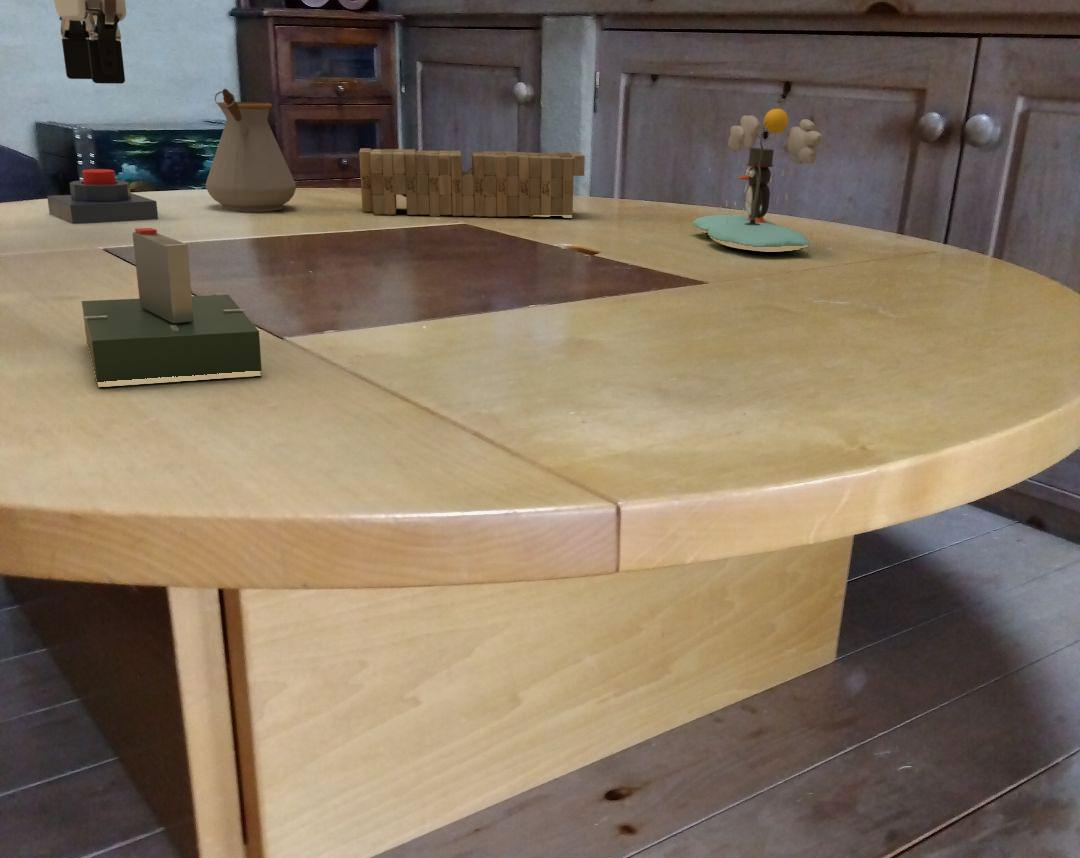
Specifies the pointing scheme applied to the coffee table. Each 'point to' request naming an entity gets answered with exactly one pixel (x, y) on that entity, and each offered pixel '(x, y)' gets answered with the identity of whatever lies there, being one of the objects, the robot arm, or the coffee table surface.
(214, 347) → the block
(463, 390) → the coffee table surface
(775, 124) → the penguin figurine
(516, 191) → the block tower
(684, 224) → the coffee table surface
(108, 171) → the release button
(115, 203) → the button block
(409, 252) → the coffee table surface
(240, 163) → the coffee pot
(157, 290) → the upright beige tablet
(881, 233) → the coffee table surface
